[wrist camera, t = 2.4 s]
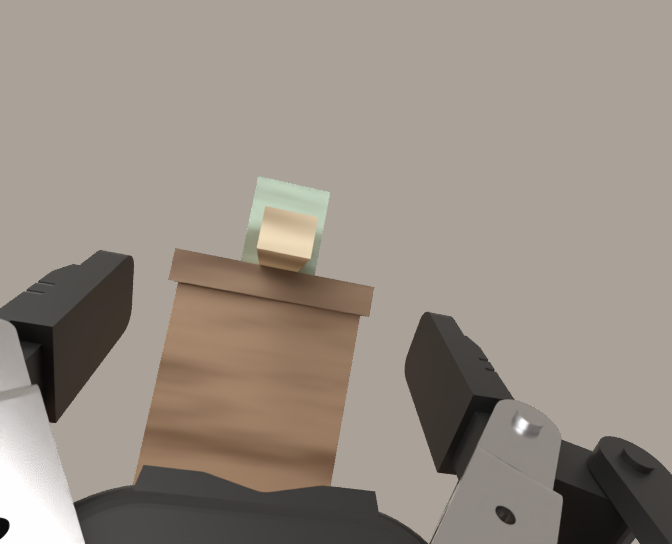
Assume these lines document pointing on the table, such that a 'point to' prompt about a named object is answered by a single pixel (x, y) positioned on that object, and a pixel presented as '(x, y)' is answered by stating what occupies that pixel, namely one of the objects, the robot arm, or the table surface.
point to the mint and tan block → (285, 226)
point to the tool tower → (253, 373)
